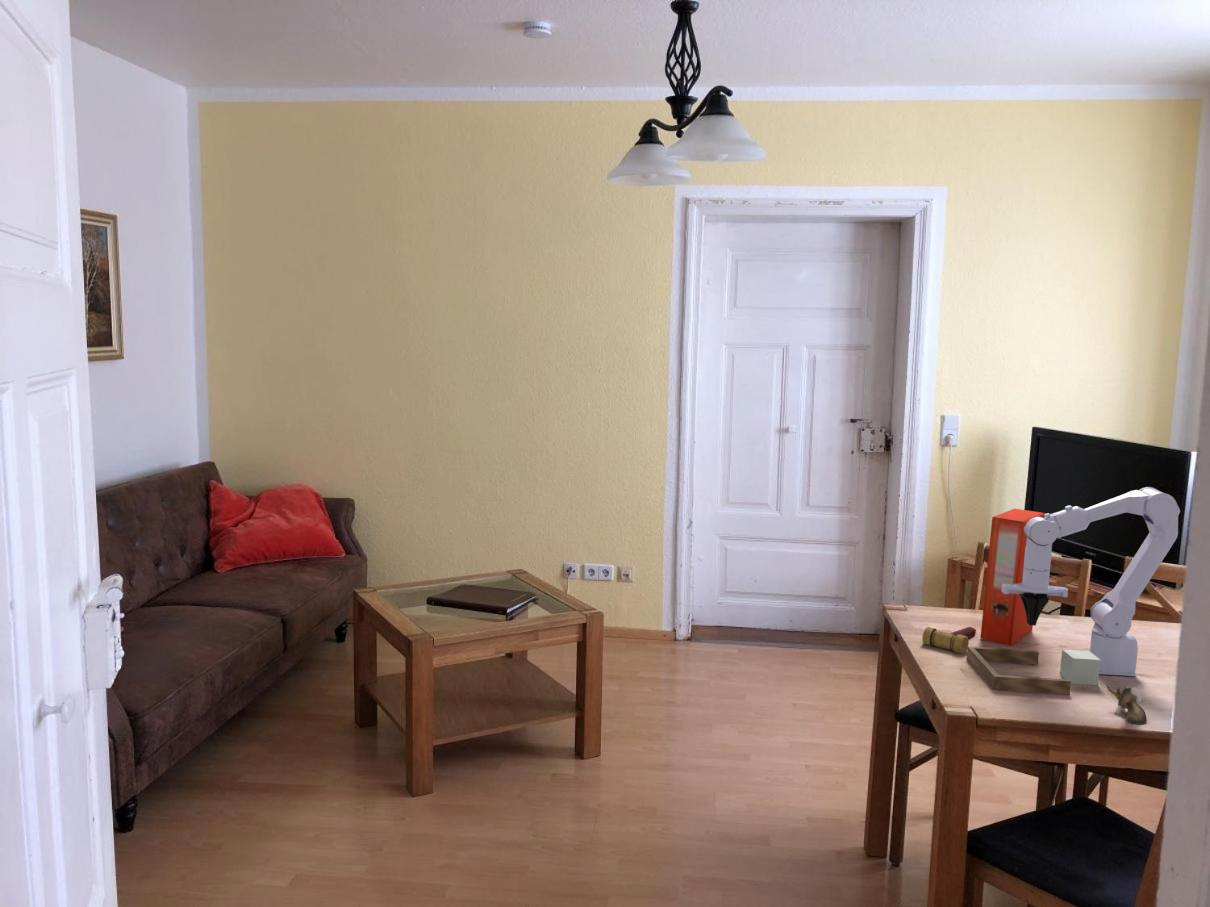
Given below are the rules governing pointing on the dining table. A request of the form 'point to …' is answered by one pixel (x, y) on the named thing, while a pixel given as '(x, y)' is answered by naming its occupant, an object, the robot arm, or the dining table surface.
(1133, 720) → the eagle figurine
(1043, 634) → the dining table surface
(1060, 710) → the dining table surface
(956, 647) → the gavel
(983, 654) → the wooden frame
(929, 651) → the dining table surface
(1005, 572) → the file binder
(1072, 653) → the cube
